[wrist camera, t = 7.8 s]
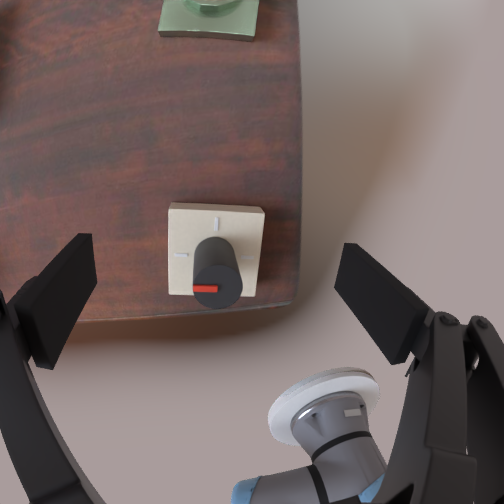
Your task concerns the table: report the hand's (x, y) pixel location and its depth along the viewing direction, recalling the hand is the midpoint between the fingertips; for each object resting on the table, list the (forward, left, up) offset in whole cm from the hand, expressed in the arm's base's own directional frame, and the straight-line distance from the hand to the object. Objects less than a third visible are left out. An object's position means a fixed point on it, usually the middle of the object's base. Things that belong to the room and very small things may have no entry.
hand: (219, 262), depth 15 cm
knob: (-7, -1, -16) cm, 18 cm away
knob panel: (-7, -1, -19) cm, 21 cm away
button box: (+23, +2, -19) cm, 30 cm away
